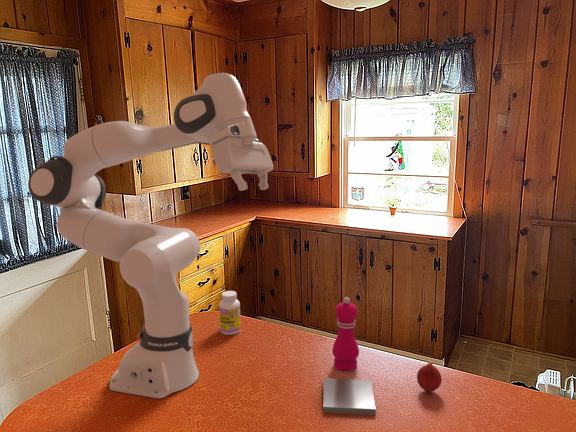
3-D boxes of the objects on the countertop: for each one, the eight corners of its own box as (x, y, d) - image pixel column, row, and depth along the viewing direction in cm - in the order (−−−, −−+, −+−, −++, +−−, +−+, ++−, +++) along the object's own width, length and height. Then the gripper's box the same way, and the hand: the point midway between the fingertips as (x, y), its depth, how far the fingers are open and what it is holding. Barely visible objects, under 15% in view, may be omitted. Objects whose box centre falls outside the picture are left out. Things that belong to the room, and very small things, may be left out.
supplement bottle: (216, 334, 145) (215, 296, 142) (224, 325, 151) (222, 288, 149) (236, 336, 144) (235, 298, 141) (243, 327, 150) (242, 290, 147)
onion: (441, 400, 111) (443, 369, 109) (417, 397, 112) (418, 367, 110) (439, 386, 116) (440, 357, 114) (415, 384, 117) (417, 355, 116)
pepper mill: (341, 375, 121) (343, 304, 117) (327, 363, 128) (327, 295, 124) (364, 368, 125) (365, 299, 121) (348, 356, 131) (350, 290, 127)
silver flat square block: (323, 412, 106) (323, 406, 106) (323, 383, 118) (323, 378, 118) (375, 414, 105) (375, 409, 105) (370, 385, 117) (370, 379, 117)
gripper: (250, 144, 123) (266, 192, 122) (202, 137, 105) (219, 194, 104) (269, 134, 120) (285, 184, 119) (223, 126, 102) (241, 185, 101)
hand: (254, 189), depth 111 cm, fingers open, 8 cm apart
